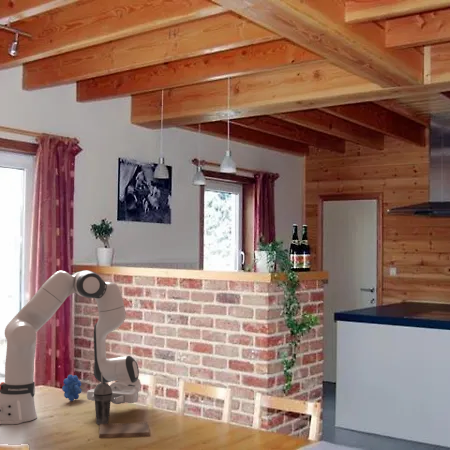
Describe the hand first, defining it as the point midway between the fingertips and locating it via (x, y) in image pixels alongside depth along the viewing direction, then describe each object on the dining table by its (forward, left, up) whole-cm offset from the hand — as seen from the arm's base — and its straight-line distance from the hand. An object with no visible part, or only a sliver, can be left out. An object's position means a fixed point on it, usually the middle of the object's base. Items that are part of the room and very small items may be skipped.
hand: (103, 399), depth 263 cm
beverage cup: (0, -1, -9) cm, 9 cm away
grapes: (-13, +39, -9) cm, 42 cm away
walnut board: (+8, -14, -9) cm, 18 cm away
